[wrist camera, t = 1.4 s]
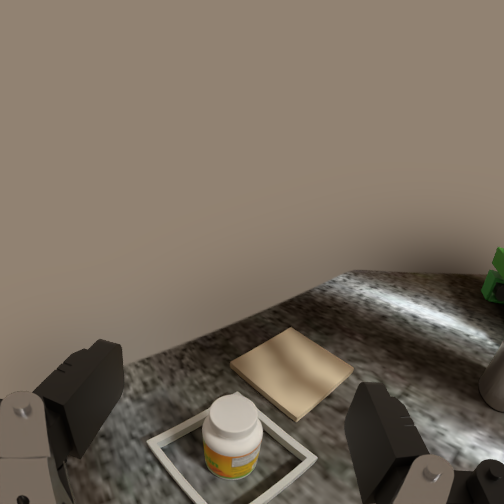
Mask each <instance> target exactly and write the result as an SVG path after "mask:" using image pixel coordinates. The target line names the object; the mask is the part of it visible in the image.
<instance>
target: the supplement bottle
mask: <svg viewBox="0 0 504 504" xmlns="http://www.w3.org/2000/svg"><path fill="white" fill-rule="evenodd" d="M202 435H203V445H204V455H205V462H206V465H207V467H208V469H209V470H210V471H211V472H212V473H213V474H214V475H216V476H217V477H219V478H222V479H226V480H237V479H241V478H244V477H246V476H247V475H249V474H250V473H251V472H252V471H253V469H254V468H255V466H256V463H257V459H258V454H259V450H260V445H261V440H262V435H263V428H262V424H261V422H260V420H259V418H258V412H257V408H256V406H255V405H254V403H253V402H252V401H250V400H249V399H247V398H245V397H243V396H240V395H226V396H222V397H220V398H218V399H217V400H215V401H214V402H213V404H212V405H211V407H210V410H209V415H208V416H207V417H206V419H205V420H204V423H203V427H202Z"/></svg>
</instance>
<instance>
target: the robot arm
mask: <svg viewBox="0 0 504 504" xmlns="http://www.w3.org/2000/svg"><path fill="white" fill-rule="evenodd" d="M123 389H124V370H123V358H122V347H121V345H120V344H116V343H113V342H109V341H106V340H102V339H99V340H97V341H96V342H95V343H94V344H93V345H92V346H91V347H90V348H89V349H88V350H87V349H82V350H80V351H78V352H75V353H73V354H71V355H70V356H69V357H68V358H67V359H66V360H65V361H64V362H63V364H61V365H60V366H59V367H58V368H57V370H54V371H53V372H52V373H51V374H50V375H49V376H48V377H47V378H46V379H45V380H44V381H43V382H42V383H41V384H40V385H39V386H38V387H37V388H36V389H35V390H34V391H33V392H32V393H31V392H27V391H17V392H14V393H11V394H9V395H8V396H6V397H5V398H4V399H0V504H76V501H75V498H74V495H73V491H72V488H71V484H70V480H69V476H68V472H67V468H66V464H65V462H64V460H65V459H66V457H67V456H68V454H69V455H71V456H74V457H76V458H78V459H81V458H82V456H83V455H84V453H85V452H86V450H87V448H88V447H89V445H90V444H91V442H92V441H93V439H94V437H95V436H96V434H97V433H98V431H99V430H100V428H101V426H102V425H103V423H104V422H105V420H106V419H107V417H108V416H109V414H110V413H111V411H112V409H113V408H114V406H115V405H116V403H117V402H118V400H119V399H120V397H121V395H122V392H123ZM479 391H480V393H481V395H482V397H483V399H484V400H485V401H486V403H487V404H489V405H490V406H491V407H492V408H494V409H496V410H498V411H501V412H504V340H503V342H502V344H501V346H500V347H499V349H498V351H497V352H496V354H495V356H494V357H493V359H492V360H491V362H490V364H489V365H488V367H487V368H486V370H485V371H484V373H483V374H482V376H481V378H480V380H479ZM344 429H345V435H346V439H347V442H348V446H349V450H350V454H351V458H352V462H353V466H354V470H355V474H356V478H357V482H358V486H359V490H360V495H361V499H362V503H363V504H372V503H376V504H504V464H503V463H501V462H499V461H497V460H493V459H488V460H484V461H482V462H481V463H480V464H479V465H478V466H477V467H476V469H475V470H474V471H456V470H453V468H452V466H451V465H450V463H449V462H448V461H446V460H445V459H443V458H442V457H439V456H436V455H430V453H429V451H428V449H427V447H426V446H425V444H424V442H423V440H422V438H421V436H420V434H419V432H418V430H417V428H416V426H414V422H413V420H412V419H411V418H410V415H409V413H408V411H407V409H406V407H405V406H404V405H403V404H402V403H401V402H400V401H399V400H398V399H396V398H395V397H390V395H389V393H388V391H387V389H386V387H385V385H384V384H383V383H374V382H361V383H360V384H359V386H358V388H357V390H356V393H355V396H354V398H353V401H352V403H351V406H350V408H349V410H348V413H347V415H346V419H345V426H344Z"/></svg>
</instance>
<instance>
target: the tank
mask: <svg viewBox="0 0 504 504" xmlns="http://www.w3.org/2000/svg"><path fill="white" fill-rule="evenodd" d="M492 264H493V265H494V267H495V268H496V269H497V271H498V272H496V271H493V270H489V272H488V275H487V277H486V280H485V282H484V285H483V287H482V289H481V292H482V294H483V295H484V297H485V299H486V300H488V301H490V302H494V303H499V304H504V249H503V248H500V247H498V248H497V251H496V253H495V256H494V259H493V261H492ZM492 291H493V292H492Z"/></svg>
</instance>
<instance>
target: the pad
mask: <svg viewBox="0 0 504 504" xmlns="http://www.w3.org/2000/svg"><path fill="white" fill-rule="evenodd" d="M230 368H231V369H233V370H234V371H235V372H236V373H237V374H238V375H239V376H240V377H242V378H243V379H244V380H245V381H246V382H247V383H249V384H250V385H251V386H252V387H253V388H254V389H256V390H257V391H258V392H259V393H260V394H261V395H263V396H264V397H265V398H266V399H267V400H269V401H270V402H271V403H272V404H273V405H275V406H276V407H277V408H278V409H280V410H281V411H282V412H283V413H285V414H286V415H287V416H288V417H290V418H291V419H292V420H293V421H295V422H297V421H298V420H300V419H301V418H302V417H303V416H304V415H306V414H307V413H308V412H309V411H310V410H312V409H313V408H314V407H315V406H316V405H317V404H319V403H320V402H321V401H322V400H323V399H324V398H325V397H327V396H328V395H329V394H330V393H331V392H332V391H333V390H334V389H335V388H336V387H338V386H339V385H340V384H341V383H342V382H343V381H344V380H345V379H346V378H347V377H348V376H349V375H350V374H351V373H352V372H353V370H354V368H353V367H352V366H350V365H349V364H347V363H345V362H344V361H342V360H341V359H339V358H338V357H336V356H334V355H333V354H331V353H330V352H328V351H327V350H325V349H324V348H322V347H320V346H319V345H317V344H316V343H314V342H313V341H311V340H310V339H308V338H307V337H305V336H304V335H302V334H301V333H299V332H298V331H296V330H295V329H293V328H292V327H290V328H289V329H287V330H285V331H284V332H282V333H280V334H279V335H277V336H275V337H273V338H272V339H270V340H268V341H267V342H265V343H263V344H261V345H260V346H258V347H256V348H254V349H253V350H251V351H249V352H247V353H246V354H244V355H242V356H240V357H238V358H237V359H235V360H233V361H231V362H230Z"/></svg>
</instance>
